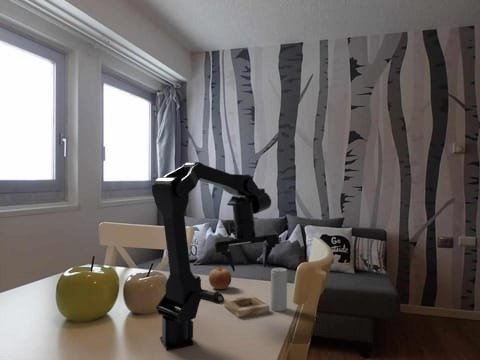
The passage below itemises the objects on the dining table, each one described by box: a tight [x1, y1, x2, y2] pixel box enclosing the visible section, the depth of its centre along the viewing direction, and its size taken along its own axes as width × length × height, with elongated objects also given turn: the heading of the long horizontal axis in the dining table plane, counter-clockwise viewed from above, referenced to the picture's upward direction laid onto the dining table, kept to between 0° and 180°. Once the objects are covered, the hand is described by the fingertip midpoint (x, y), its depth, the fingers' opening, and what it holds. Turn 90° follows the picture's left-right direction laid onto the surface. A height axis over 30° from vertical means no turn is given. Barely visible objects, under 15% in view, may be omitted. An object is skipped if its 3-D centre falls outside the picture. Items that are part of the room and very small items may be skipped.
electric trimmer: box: [201, 288, 225, 304], centre depth 118 cm, size 4×16×3 cm, turn 54°
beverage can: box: [270, 267, 288, 313], centre depth 108 cm, size 5×5×12 cm
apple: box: [208, 265, 232, 290], centre depth 128 cm, size 8×8×8 cm
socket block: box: [223, 295, 270, 319], centre depth 108 cm, size 10×10×2 cm
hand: (249, 268), depth 107 cm, fingers open, 9 cm apart
